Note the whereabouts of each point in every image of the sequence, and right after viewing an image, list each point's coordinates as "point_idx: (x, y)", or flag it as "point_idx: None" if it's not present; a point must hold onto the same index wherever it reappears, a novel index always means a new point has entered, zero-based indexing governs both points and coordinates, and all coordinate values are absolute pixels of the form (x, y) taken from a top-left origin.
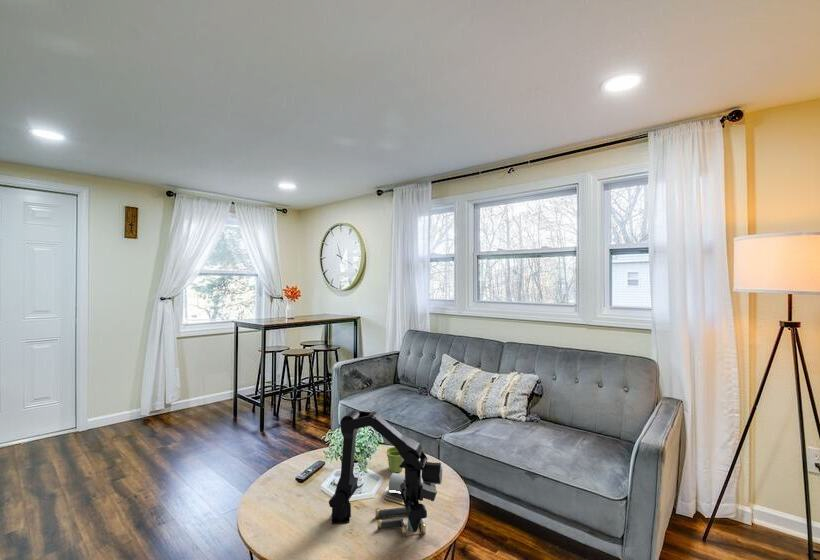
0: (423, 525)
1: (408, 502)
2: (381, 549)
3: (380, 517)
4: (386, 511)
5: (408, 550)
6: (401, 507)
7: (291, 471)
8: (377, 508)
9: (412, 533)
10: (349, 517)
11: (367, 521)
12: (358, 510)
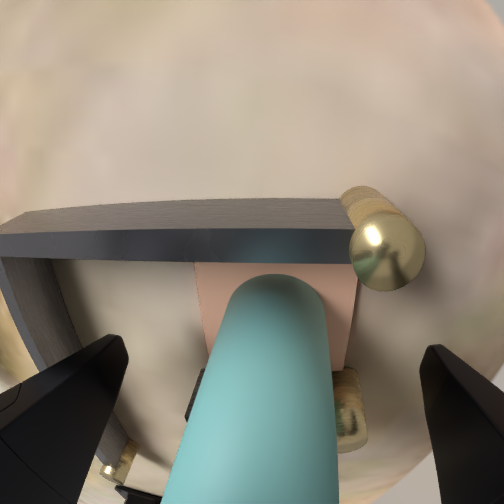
0: (403, 259)
1: (50, 473)
2: (397, 463)
3: (126, 436)
4: (100, 442)
5: (486, 364)
6: (37, 368)
7: None
8: (103, 475)
9: (344, 328)
10: (156, 501)
11: (164, 473)
12: (97, 464)
